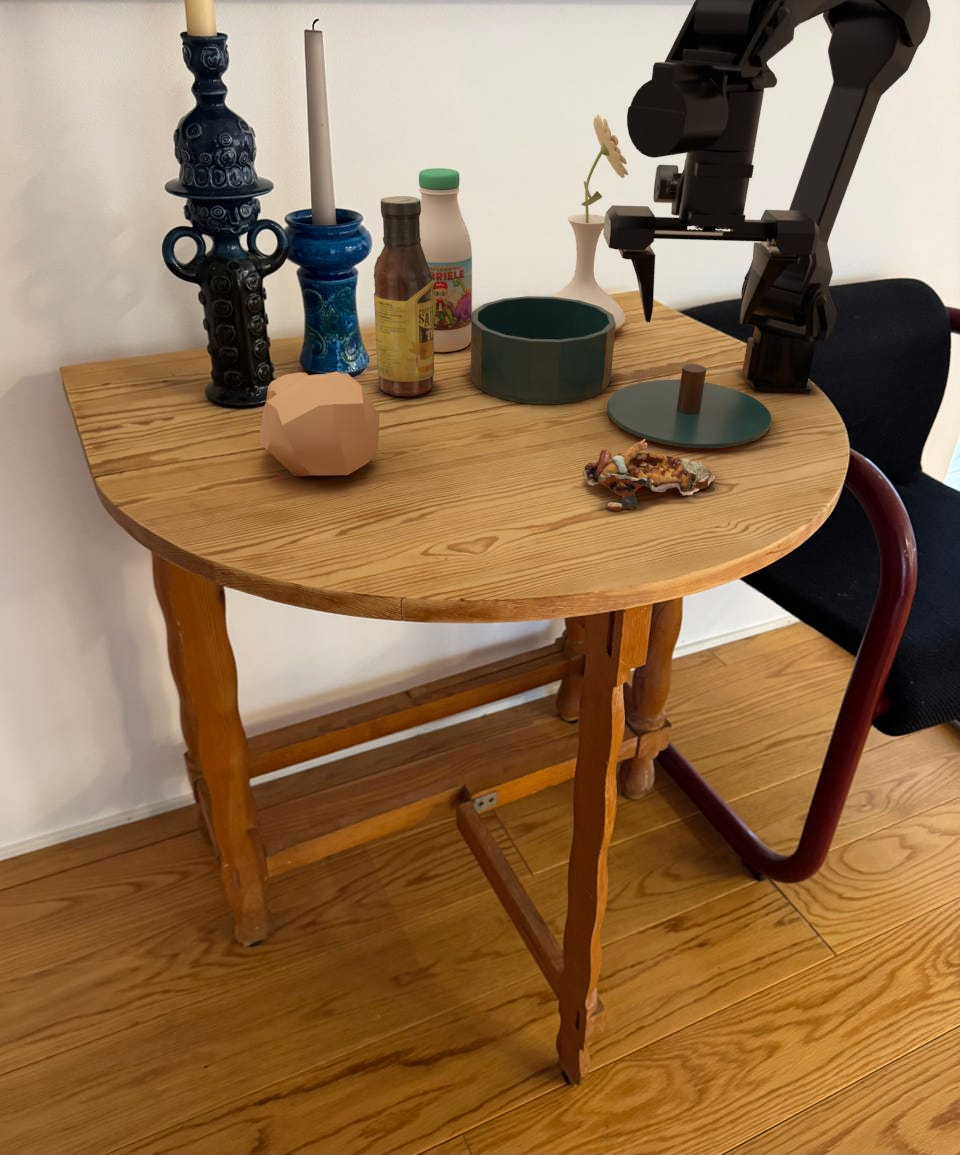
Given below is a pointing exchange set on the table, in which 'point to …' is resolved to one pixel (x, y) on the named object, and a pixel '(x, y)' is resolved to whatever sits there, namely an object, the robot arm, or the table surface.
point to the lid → (689, 412)
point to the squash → (319, 424)
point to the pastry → (645, 474)
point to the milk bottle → (446, 258)
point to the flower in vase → (594, 233)
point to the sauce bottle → (403, 302)
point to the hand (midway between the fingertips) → (695, 322)
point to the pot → (542, 349)
